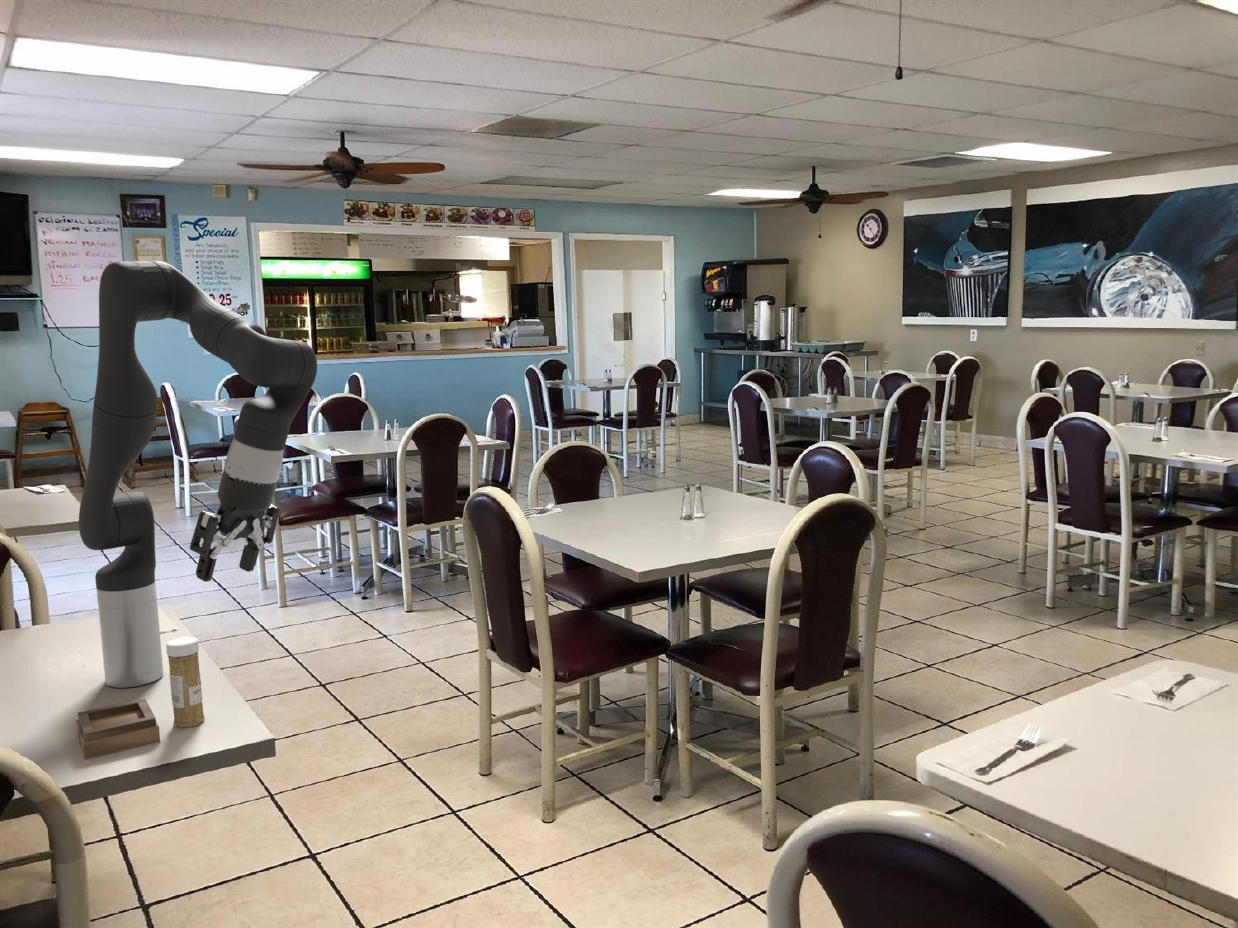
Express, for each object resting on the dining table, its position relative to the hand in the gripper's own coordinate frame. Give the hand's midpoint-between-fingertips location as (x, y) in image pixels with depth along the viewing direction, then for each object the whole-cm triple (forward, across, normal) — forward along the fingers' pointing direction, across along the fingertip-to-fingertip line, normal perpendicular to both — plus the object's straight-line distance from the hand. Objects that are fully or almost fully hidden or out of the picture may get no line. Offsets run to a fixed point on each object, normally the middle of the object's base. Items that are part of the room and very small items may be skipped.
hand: (224, 574), depth 144 cm
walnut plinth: (+30, +4, -8) cm, 31 cm away
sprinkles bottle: (+28, -4, -3) cm, 28 cm away
